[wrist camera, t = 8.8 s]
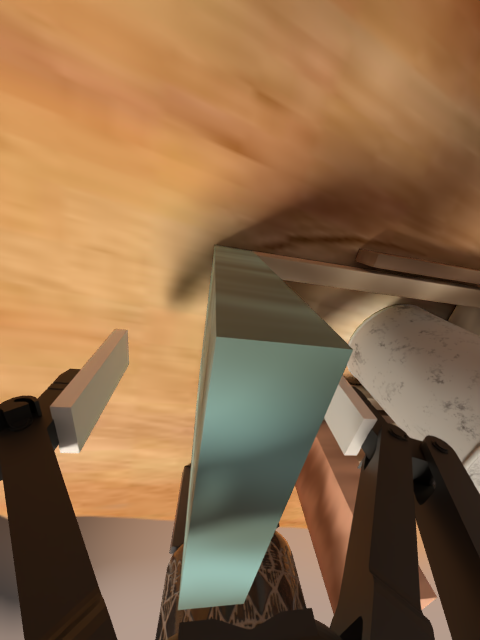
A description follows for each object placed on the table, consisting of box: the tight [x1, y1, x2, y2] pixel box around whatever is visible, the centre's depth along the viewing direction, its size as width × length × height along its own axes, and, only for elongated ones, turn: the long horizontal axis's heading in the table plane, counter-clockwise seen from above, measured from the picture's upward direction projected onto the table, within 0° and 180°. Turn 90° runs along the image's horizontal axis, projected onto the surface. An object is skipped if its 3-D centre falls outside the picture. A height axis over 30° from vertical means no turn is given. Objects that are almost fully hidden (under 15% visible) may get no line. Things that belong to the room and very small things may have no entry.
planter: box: [155, 467, 307, 640], centre depth 22 cm, size 13×13×18 cm
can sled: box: [178, 245, 480, 610], centre depth 16 cm, size 14×26×14 cm, turn 80°
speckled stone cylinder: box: [347, 304, 480, 493], centre depth 18 cm, size 10×10×12 cm
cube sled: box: [295, 420, 437, 614], centre depth 23 cm, size 8×26×14 cm, turn 80°
